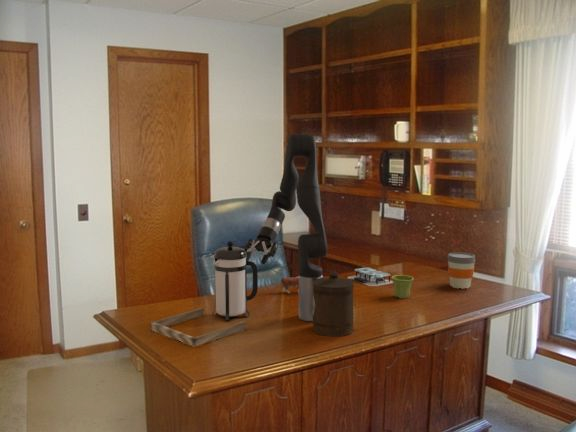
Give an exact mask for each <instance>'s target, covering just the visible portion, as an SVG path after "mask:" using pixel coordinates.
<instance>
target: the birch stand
mask: <svg viewBox="0 0 576 432" xmlns="http://www.w3.org/2000/svg"><path fill="white" fill-rule="evenodd" d="M204 310H205V309H204V307H199V308H196V309H193V310H190V311H185V312H181V313H178V314H175V315H172V316H167V317H164V318H161V319H158V320H154V321H150V322H149V325H150V326H149V328H150V331H151V330H152V331H151V332H153V331H155V332H154V333H156V332H157V333H156V334H158V333H160V334H159V335H161V334H162V335H161V336H163V335H165V336H164V337H166V336H168V337H167V338H169V337H170V338H169V339H171V338H173V339H172V340H174V339H176V340H179V341H181V342H184V343H186V344H189V345H192V346H196V345H199V344H202V343H205V342H209V341H212V340H215V339H218V340H220V339H223V338H226V337H229V336H231V335H232V336H233V335H235V334H237V333H241V332H244V331H245V330H247V321H245V320H243V321H239V322H237V323H234V324H231V325H227V326H225V327H222V328H218V329H216V330H212V331H210V332H206V333H203V334H201V335H197V336H192V335H189V334H186V333H184V332H181V331H179V330H176V329H174V328H171V327H170V325H171V326H173V325H177V324H180V323H184V322H187V321H192V320H194V319H197V318H200V317H201V318H202V317H204V316H205V311H204ZM167 326H168V327H167ZM219 338H220V339H219ZM176 340H175V341H176ZM179 341H178V342H179ZM215 341H216V340H215ZM181 342H180V343H181ZM212 342H213V341H212ZM184 343H183V344H184ZM209 343H210V342H209ZM186 344H185V345H186ZM189 345H188V346H189Z"/></svg>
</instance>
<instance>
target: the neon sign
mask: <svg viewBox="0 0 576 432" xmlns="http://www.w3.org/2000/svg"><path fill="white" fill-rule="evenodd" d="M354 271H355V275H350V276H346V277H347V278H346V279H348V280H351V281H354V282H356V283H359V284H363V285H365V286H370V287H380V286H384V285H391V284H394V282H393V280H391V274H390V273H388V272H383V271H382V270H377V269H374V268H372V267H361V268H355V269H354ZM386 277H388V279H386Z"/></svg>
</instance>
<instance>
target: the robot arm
mask: <svg viewBox="0 0 576 432" xmlns="http://www.w3.org/2000/svg"><path fill="white" fill-rule="evenodd" d="M286 142H287V143H286V148H285V156H284V166H283V174H282V177H281V182H280V184H279V191H276V192H274V194H273V196H272V200H271V207H270V210H269V213H268V215H267V217H266V219H265V221H264V222H263V223H262V226H260V227H261V228H260V229H259V231H258V234H257V236H256V239H255V240H253V239H252V238H249V239H248V241H247V243H246V245H245V247H244V248H243V250H244V251H245V253H246V254H247V257H246V262H247V261H250V258H251V256H252V255H253V254H256V253H257V252H263V253H264V255H263V257H262V258H261V261H260V263H261V265H265V264H266V263H267V262H268V260H269V258H270V257H272V258H274V257H275V255H276V252H277V250H278V247H279V245H278V243H277V241H275V240H276V238H277V236H278V234H279V232H280V230H281V228H282V224H283V222H284V220H285V219H286V214H285V212H283V210H284V211H286V212H291V211H293V210H294V209H295V207H296V205H297V204H298V206H299V208H300V210H301V211H302V212H303V213H304V215H305V216H306V218H308V220H309V221H310V223H311V226H312V227H313V230H314V233H310V234H309V233H308V234H306V233H305V234H300V236H299V237H298V238H297V239H298V240H297V250H298V253H297V254H298V277H299V293H298V319H299V320H301V321H305V322H313V293H314V281H315V280H317V279H320V278H324V275H323V273H324V271H323V270H324V269H323V268H322V267H321V266H320V265H316V264H313V263H311V262H310V261H309V259H317V258H318V259H320V258H325V257H326V256H327V254H328V243H327V242H328V240H327V236H326V232H325V231H326V230H325V225H324V220H323V219H324V218H323V213H322V212H323V211H322V204H321V203H322V200H321V191H320V185H319V184H320V183H319V176H318V167H317V166H318V165H317V163H318V162H317V146H316V145H317V142H316V139H315V136H314V135H312V134H308V133H291V134H290V135H289V136H288V138H287V141H286ZM296 157H299V158H306V165H305V167H304V171H303V173H302V174H301V176H299V172H298V169H297V168H296V166H295V163H294V158H296ZM296 203H297V204H296Z"/></svg>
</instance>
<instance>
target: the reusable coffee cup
mask: <svg viewBox="0 0 576 432" xmlns="http://www.w3.org/2000/svg"><path fill="white" fill-rule="evenodd" d="M447 263H448V265H447V271H448V276H449V285H450V287H451V286H452V288H454V289H459V288H461V289H463V290H464V289H465V288H466V289H469V287H470V288H471V283H472V279H473V277H474V273H475V263H476V255H475V254H472V253H469V252H468V253H467V252H458V251H457V252H450V253H448V254H447ZM466 289H465V290H466Z"/></svg>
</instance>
